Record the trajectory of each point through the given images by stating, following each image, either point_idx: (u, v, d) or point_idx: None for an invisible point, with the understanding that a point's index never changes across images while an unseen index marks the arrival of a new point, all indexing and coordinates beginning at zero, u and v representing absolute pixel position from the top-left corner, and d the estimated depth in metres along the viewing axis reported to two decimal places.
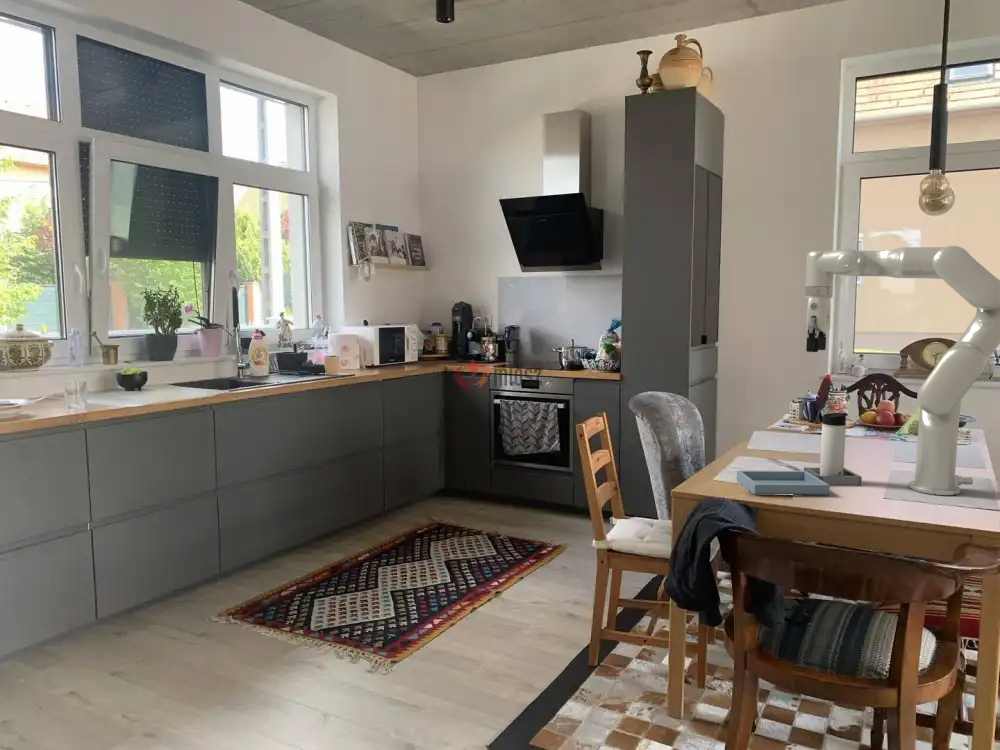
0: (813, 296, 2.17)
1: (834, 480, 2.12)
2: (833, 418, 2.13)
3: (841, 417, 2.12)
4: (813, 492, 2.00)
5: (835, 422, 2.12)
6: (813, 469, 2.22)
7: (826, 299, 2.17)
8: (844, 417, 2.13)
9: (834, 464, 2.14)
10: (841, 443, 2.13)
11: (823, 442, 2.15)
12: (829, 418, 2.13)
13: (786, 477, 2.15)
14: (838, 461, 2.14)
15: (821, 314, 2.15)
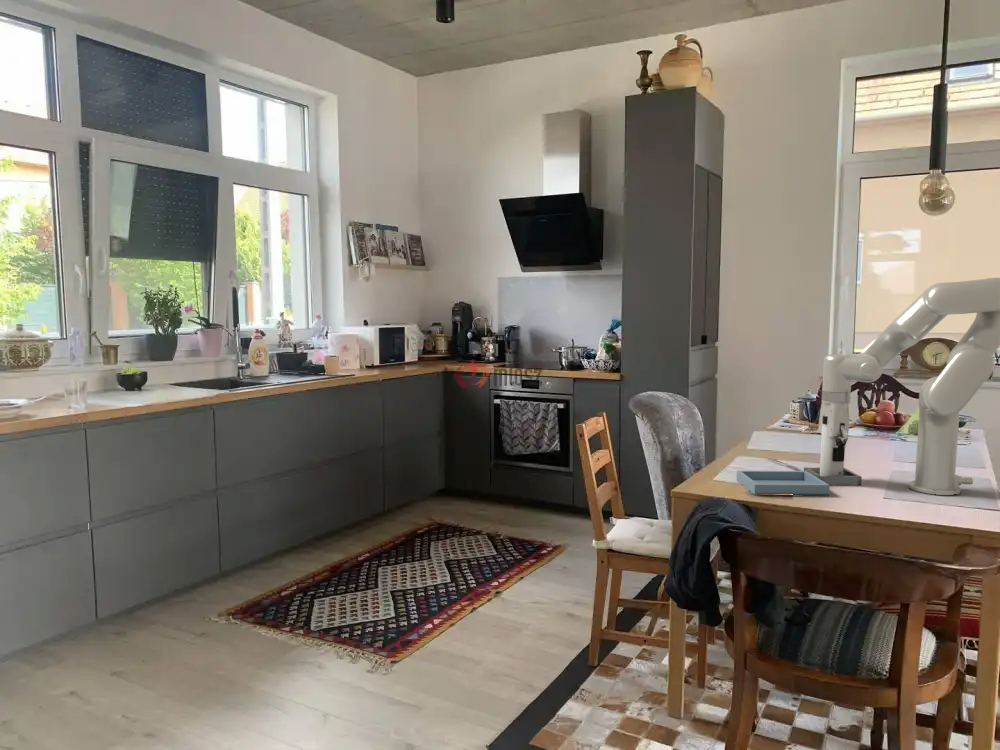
0: None
1: (834, 480, 2.12)
2: None
3: None
4: (813, 492, 2.00)
5: None
6: (813, 469, 2.22)
7: (823, 402, 2.17)
8: None
9: (834, 464, 2.14)
10: None
11: (823, 442, 2.15)
12: None
13: (786, 477, 2.15)
14: None
15: None
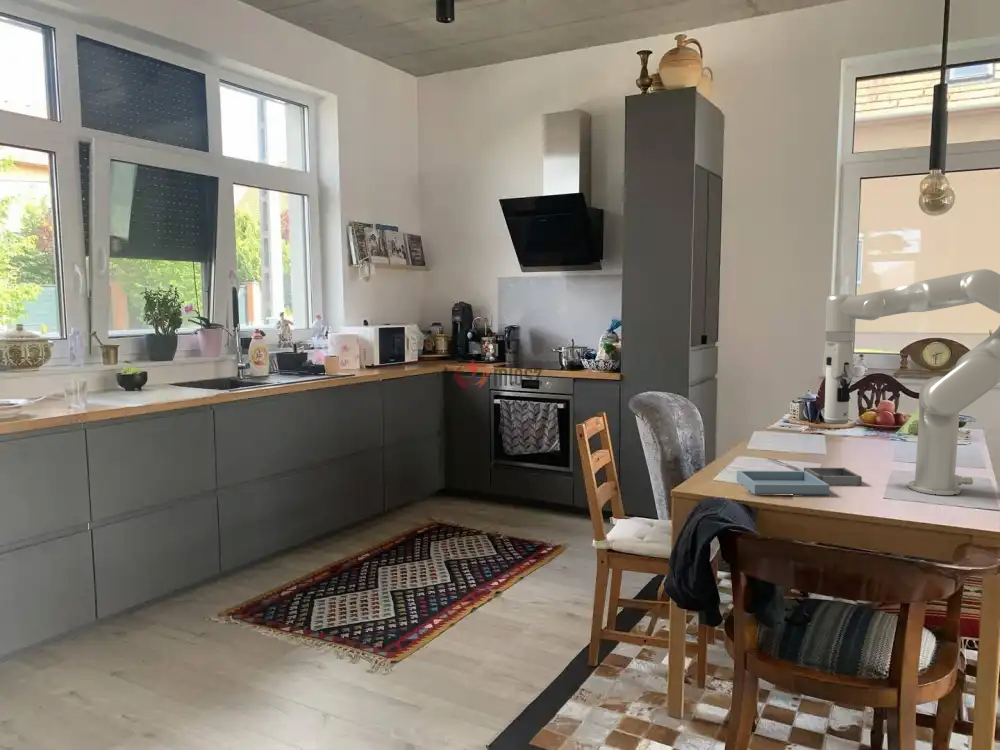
0: None
1: (834, 480, 2.12)
2: None
3: None
4: (813, 492, 2.00)
5: None
6: (813, 469, 2.22)
7: (827, 344, 2.15)
8: None
9: (838, 405, 2.12)
10: None
11: (827, 383, 2.13)
12: None
13: (786, 477, 2.15)
14: (843, 402, 2.11)
15: None
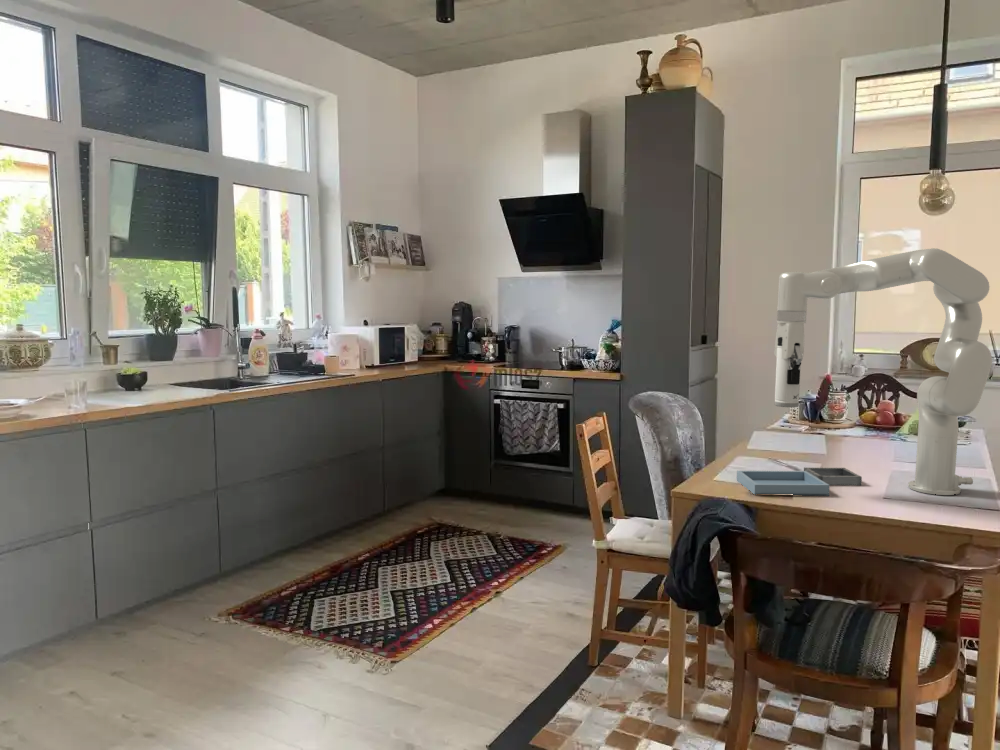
0: None
1: (834, 480, 2.12)
2: None
3: None
4: (813, 492, 2.00)
5: None
6: (813, 469, 2.22)
7: (779, 324, 2.06)
8: None
9: (788, 388, 2.03)
10: None
11: (778, 365, 2.05)
12: None
13: (786, 477, 2.15)
14: (793, 384, 2.03)
15: None
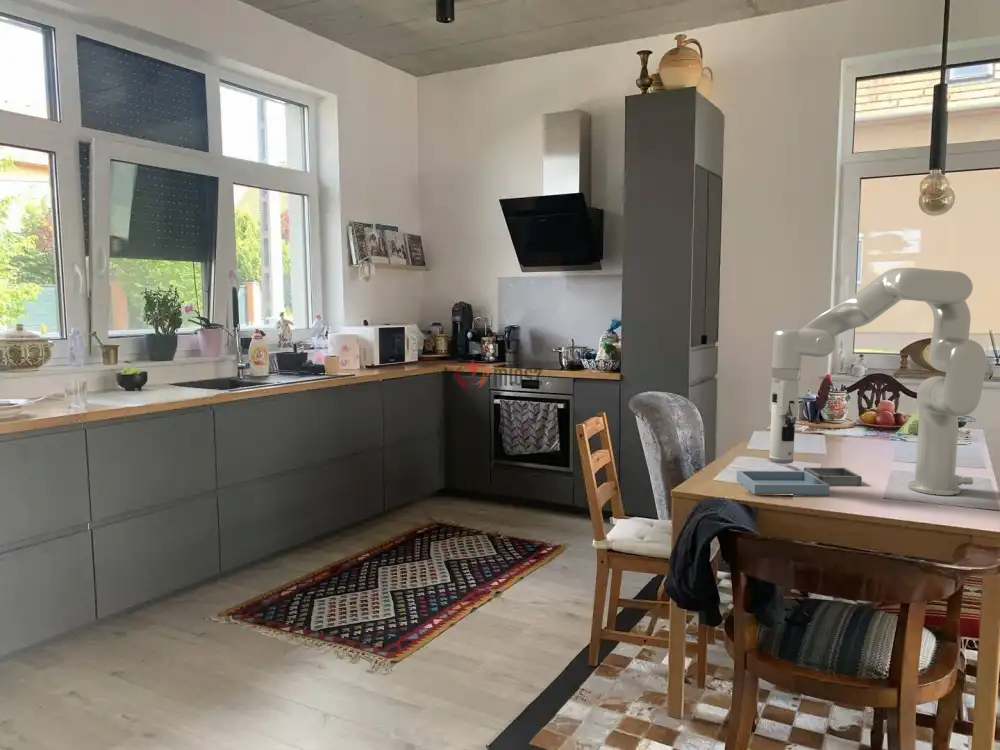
0: None
1: (834, 480, 2.12)
2: None
3: None
4: (813, 492, 2.00)
5: None
6: (813, 469, 2.22)
7: (774, 380, 2.07)
8: None
9: (783, 444, 2.04)
10: None
11: (772, 421, 2.06)
12: None
13: (786, 477, 2.15)
14: (788, 441, 2.04)
15: None
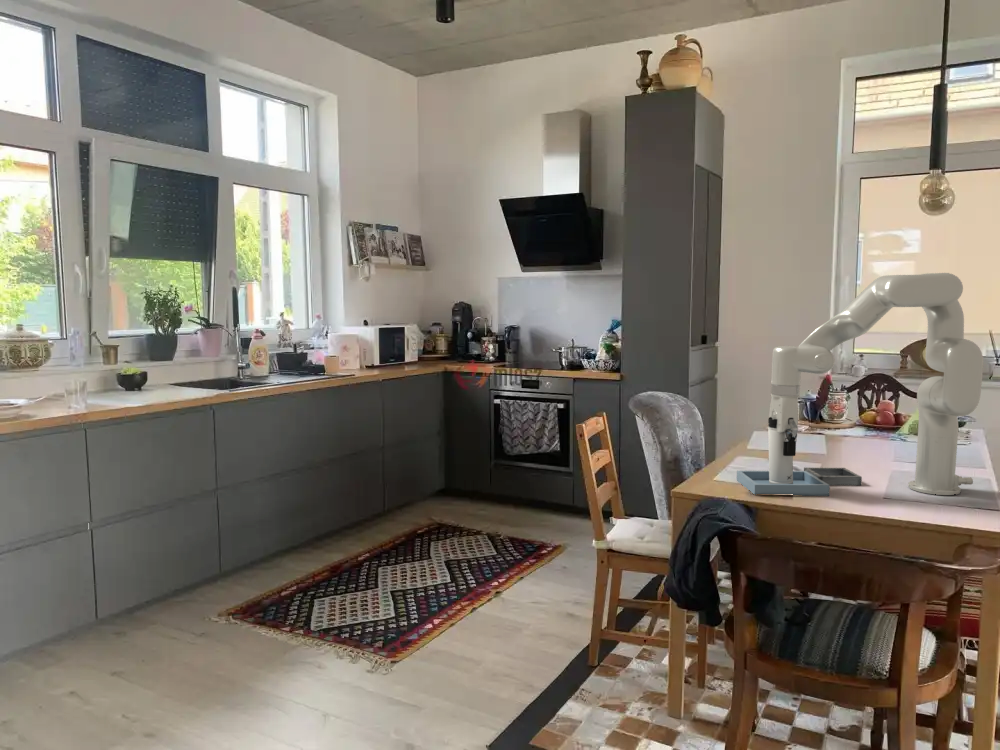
0: None
1: (834, 480, 2.12)
2: None
3: None
4: (813, 492, 2.00)
5: None
6: (813, 469, 2.22)
7: (773, 396, 2.08)
8: None
9: (782, 469, 2.05)
10: None
11: (770, 446, 2.07)
12: (774, 421, 2.05)
13: None
14: (786, 465, 2.05)
15: None
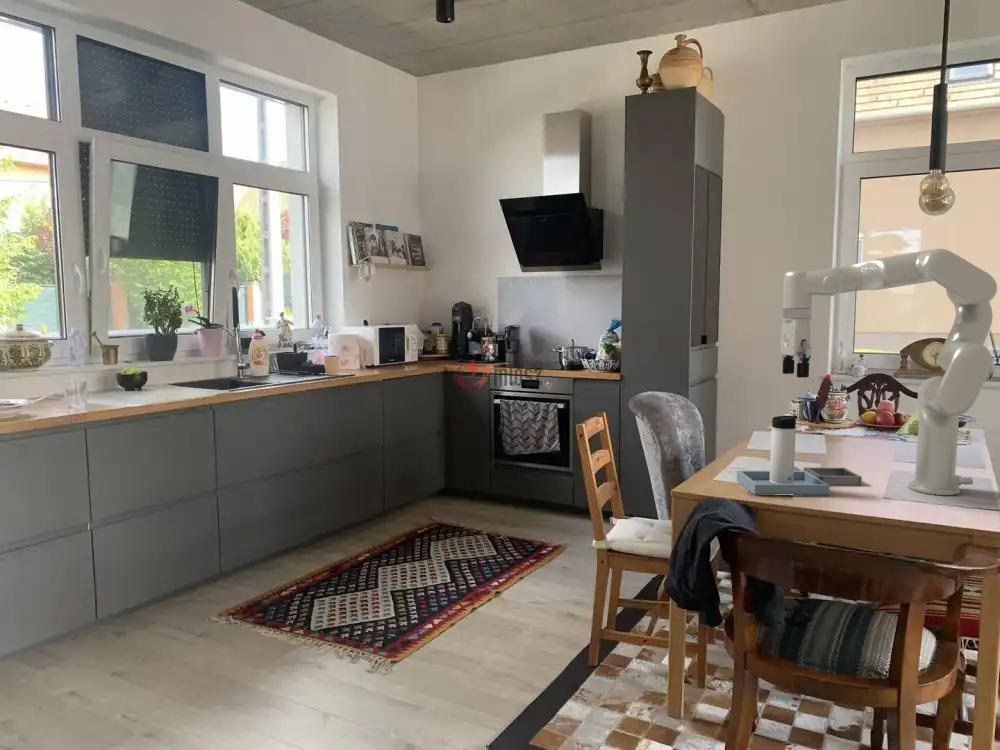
0: None
1: (834, 480, 2.12)
2: (782, 421, 2.04)
3: (790, 420, 2.03)
4: (813, 492, 2.00)
5: (785, 425, 2.04)
6: (813, 469, 2.22)
7: (785, 321, 2.11)
8: (794, 420, 2.04)
9: (783, 469, 2.05)
10: (790, 447, 2.04)
11: (772, 446, 2.07)
12: (778, 421, 2.04)
13: None
14: (788, 466, 2.05)
15: None
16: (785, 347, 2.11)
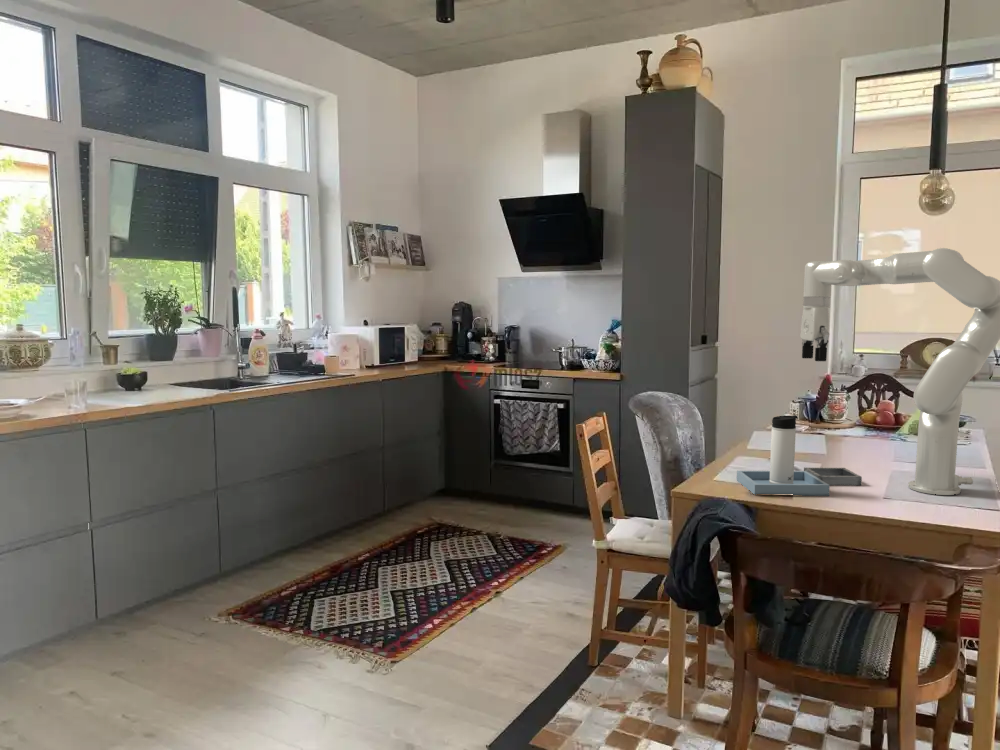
0: None
1: (834, 480, 2.12)
2: (782, 421, 2.04)
3: (790, 420, 2.03)
4: (813, 492, 2.00)
5: (785, 425, 2.04)
6: (813, 469, 2.22)
7: (805, 309, 2.26)
8: (794, 420, 2.04)
9: (783, 469, 2.05)
10: (790, 447, 2.04)
11: (772, 446, 2.07)
12: (778, 421, 2.04)
13: None
14: (788, 466, 2.05)
15: None
16: (805, 333, 2.25)
